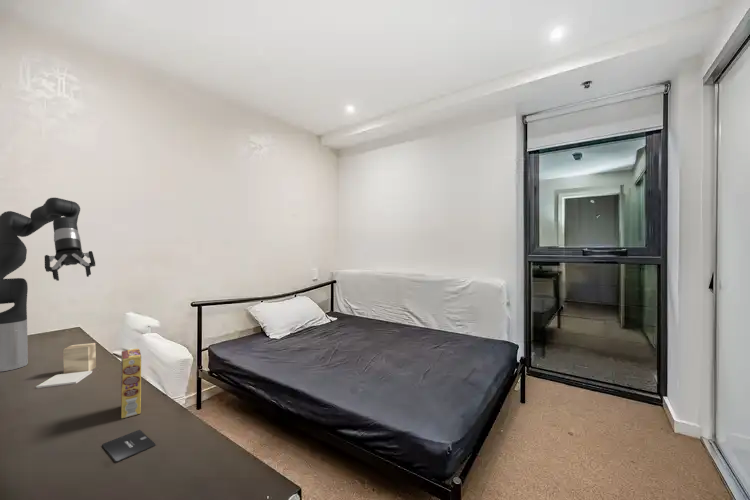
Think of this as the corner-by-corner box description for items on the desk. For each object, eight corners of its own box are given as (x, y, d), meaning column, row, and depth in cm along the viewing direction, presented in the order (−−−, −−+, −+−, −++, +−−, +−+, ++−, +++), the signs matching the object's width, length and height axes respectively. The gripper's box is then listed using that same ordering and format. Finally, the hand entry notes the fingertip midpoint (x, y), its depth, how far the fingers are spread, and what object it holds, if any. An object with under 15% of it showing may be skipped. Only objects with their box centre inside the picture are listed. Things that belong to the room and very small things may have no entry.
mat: (56, 376, 109) (56, 374, 109) (92, 372, 112) (92, 370, 112) (36, 388, 99) (36, 386, 99) (76, 383, 102) (76, 381, 102)
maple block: (72, 369, 115) (71, 345, 115) (95, 367, 117) (95, 342, 117) (63, 374, 110) (63, 349, 110) (88, 372, 112) (88, 346, 112)
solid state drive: (139, 432, 75) (139, 429, 75) (156, 447, 69) (156, 444, 69) (101, 447, 69) (101, 444, 69) (116, 465, 63) (115, 461, 63)
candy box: (142, 413, 82) (141, 355, 82) (121, 419, 80) (120, 359, 80) (140, 401, 89) (139, 347, 89) (121, 406, 87) (120, 350, 87)
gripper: (91, 244, 134) (97, 278, 130) (43, 248, 125) (48, 285, 120) (90, 235, 129) (96, 270, 124) (40, 238, 119) (45, 277, 115)
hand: (72, 277), depth 122 cm, fingers open, 8 cm apart
